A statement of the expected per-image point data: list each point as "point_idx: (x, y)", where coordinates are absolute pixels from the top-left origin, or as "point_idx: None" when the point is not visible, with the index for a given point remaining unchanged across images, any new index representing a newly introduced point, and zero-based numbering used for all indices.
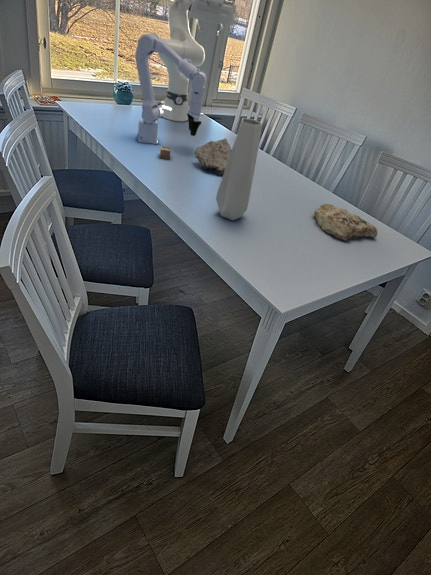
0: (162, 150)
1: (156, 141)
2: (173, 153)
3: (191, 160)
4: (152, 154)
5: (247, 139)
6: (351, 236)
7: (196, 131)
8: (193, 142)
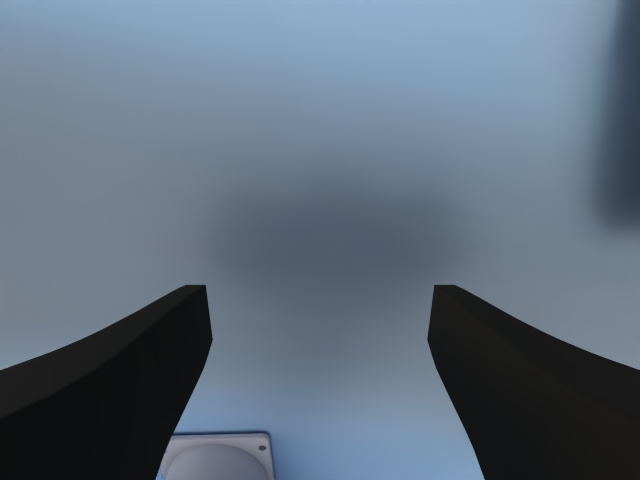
0: None
1: (234, 446)
2: (414, 350)
3: (541, 232)
4: (463, 461)
5: None
6: None
7: (505, 317)
8: (53, 160)
